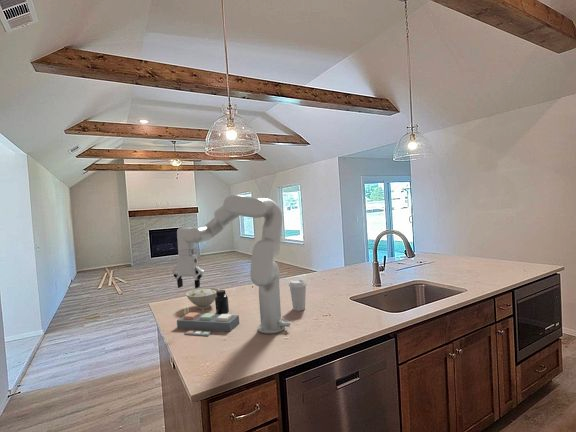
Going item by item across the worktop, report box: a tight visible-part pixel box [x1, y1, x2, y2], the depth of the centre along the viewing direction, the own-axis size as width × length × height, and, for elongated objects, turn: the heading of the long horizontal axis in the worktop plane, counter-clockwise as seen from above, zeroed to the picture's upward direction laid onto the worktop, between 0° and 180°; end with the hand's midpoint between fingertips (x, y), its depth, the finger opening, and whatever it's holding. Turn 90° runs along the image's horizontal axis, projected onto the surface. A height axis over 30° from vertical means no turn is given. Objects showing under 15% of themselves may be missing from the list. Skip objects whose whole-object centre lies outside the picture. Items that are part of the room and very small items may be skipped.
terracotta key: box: [183, 311, 200, 320], centre depth 157 cm, size 5×5×3 cm
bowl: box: [185, 286, 221, 310], centre depth 185 cm, size 19×19×10 cm
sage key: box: [200, 312, 216, 320], centre depth 155 cm, size 5×5×3 cm
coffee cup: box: [288, 278, 307, 312], centre depth 172 cm, size 10×10×15 cm
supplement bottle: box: [214, 289, 230, 315], centre depth 172 cm, size 7×7×12 cm
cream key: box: [217, 313, 233, 321], centre depth 152 cm, size 5×5×3 cm
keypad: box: [176, 313, 240, 333], centre depth 155 cm, size 28×10×4 cm, turn 74°
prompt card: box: [184, 329, 213, 337], centre depth 146 cm, size 12×4×1 cm, turn 74°
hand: (188, 287), depth 157 cm, fingers open, 9 cm apart
